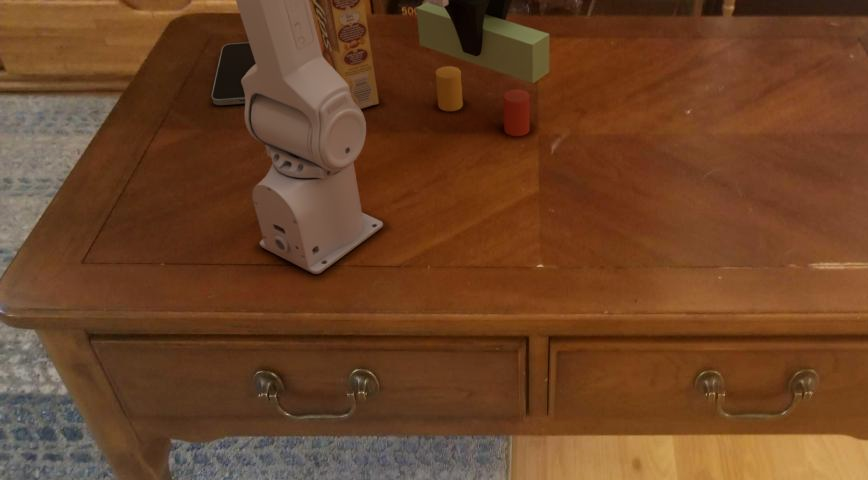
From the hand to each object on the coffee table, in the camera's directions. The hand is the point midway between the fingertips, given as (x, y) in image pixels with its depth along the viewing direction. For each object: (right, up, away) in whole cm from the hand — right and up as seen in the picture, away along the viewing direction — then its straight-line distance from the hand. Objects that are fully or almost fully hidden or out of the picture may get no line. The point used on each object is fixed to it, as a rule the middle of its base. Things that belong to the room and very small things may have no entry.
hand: (481, 46), depth 95 cm
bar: (0, -1, +1) cm, 1 cm away
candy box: (-17, -3, +11) cm, 21 cm away
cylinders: (0, -6, +7) cm, 9 cm away
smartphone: (-31, 0, +14) cm, 34 cm away
